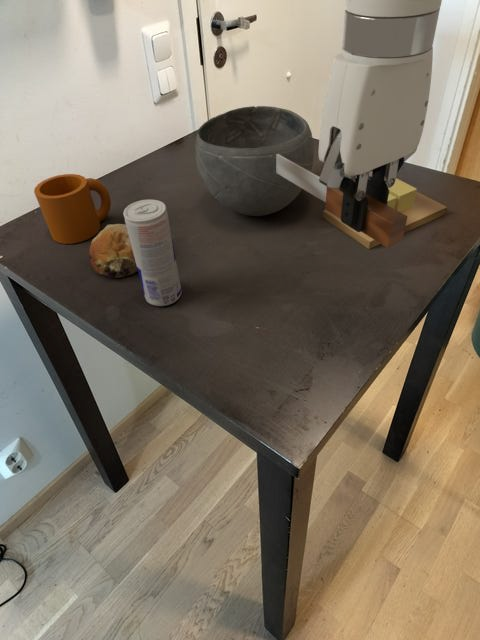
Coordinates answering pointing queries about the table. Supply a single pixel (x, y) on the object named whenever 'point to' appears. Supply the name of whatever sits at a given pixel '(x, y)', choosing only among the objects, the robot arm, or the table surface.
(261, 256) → the table surface
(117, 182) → the table surface
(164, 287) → the beverage can
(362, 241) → the board
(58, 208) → the mug
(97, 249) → the bread roll
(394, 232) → the knife
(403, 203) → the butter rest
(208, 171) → the bowl
